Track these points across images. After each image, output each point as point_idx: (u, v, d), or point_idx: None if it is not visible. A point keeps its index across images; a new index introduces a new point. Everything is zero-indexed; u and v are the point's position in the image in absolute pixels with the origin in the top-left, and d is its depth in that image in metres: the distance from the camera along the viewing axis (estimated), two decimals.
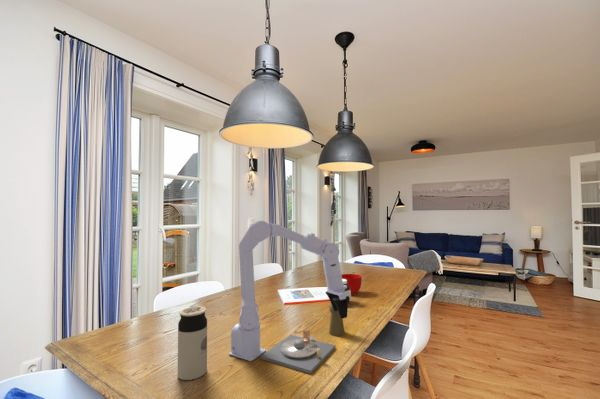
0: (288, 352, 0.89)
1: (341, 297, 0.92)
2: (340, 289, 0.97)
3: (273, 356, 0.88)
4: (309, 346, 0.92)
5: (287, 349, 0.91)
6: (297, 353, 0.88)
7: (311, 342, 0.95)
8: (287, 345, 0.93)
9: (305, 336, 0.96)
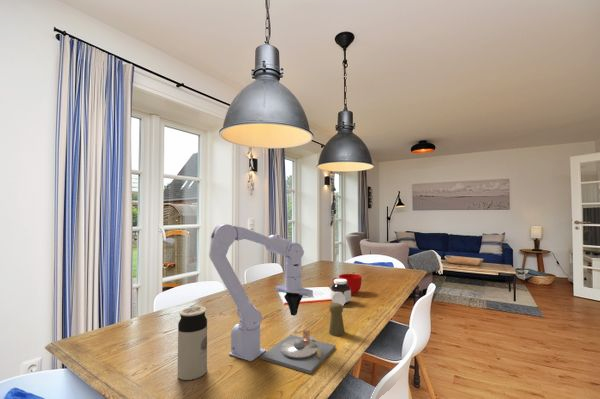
0: (288, 352, 0.89)
1: (310, 294, 0.96)
2: (301, 288, 1.00)
3: (273, 356, 0.88)
4: (309, 346, 0.92)
5: (287, 349, 0.91)
6: (297, 353, 0.88)
7: (311, 342, 0.95)
8: (287, 345, 0.93)
9: (305, 336, 0.96)
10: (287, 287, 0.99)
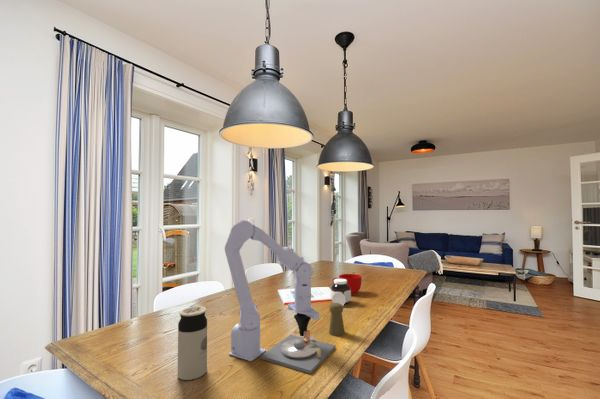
0: (288, 352, 0.89)
1: (316, 317, 0.92)
2: (310, 309, 0.97)
3: (273, 356, 0.88)
4: (309, 346, 0.92)
5: (287, 349, 0.91)
6: (297, 353, 0.88)
7: (311, 342, 0.95)
8: (287, 345, 0.93)
9: (305, 336, 0.96)
10: (295, 307, 0.97)
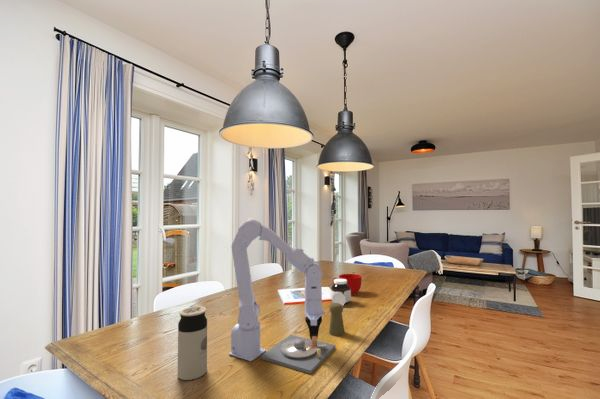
0: (283, 346, 0.93)
1: (312, 323, 0.88)
2: (316, 314, 0.92)
3: (273, 356, 0.88)
4: (305, 350, 0.90)
5: (288, 343, 0.94)
6: (286, 349, 0.90)
7: (313, 348, 0.91)
8: None
9: None
10: None
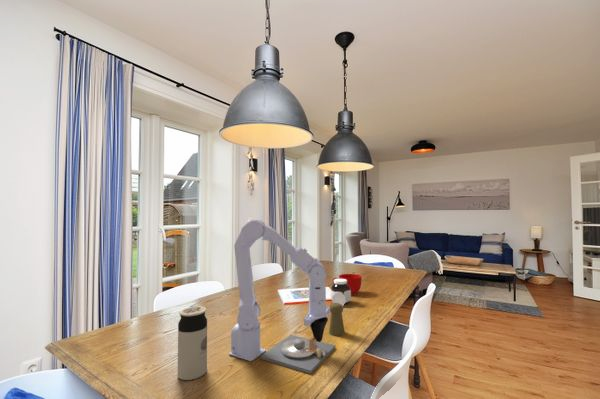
0: (287, 342, 0.96)
1: (305, 322, 0.88)
2: (315, 315, 0.91)
3: (273, 356, 0.88)
4: (299, 351, 0.89)
5: (293, 341, 0.96)
6: (285, 346, 0.93)
7: (308, 352, 0.88)
8: None
9: None
10: None
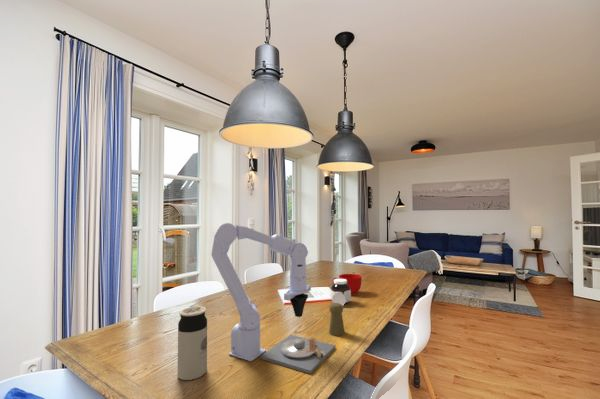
0: (287, 342, 0.96)
1: (285, 297, 0.92)
2: (295, 291, 0.95)
3: (273, 356, 0.88)
4: (299, 351, 0.89)
5: (293, 341, 0.96)
6: (285, 346, 0.93)
7: (308, 352, 0.88)
8: None
9: None
10: None
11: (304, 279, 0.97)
